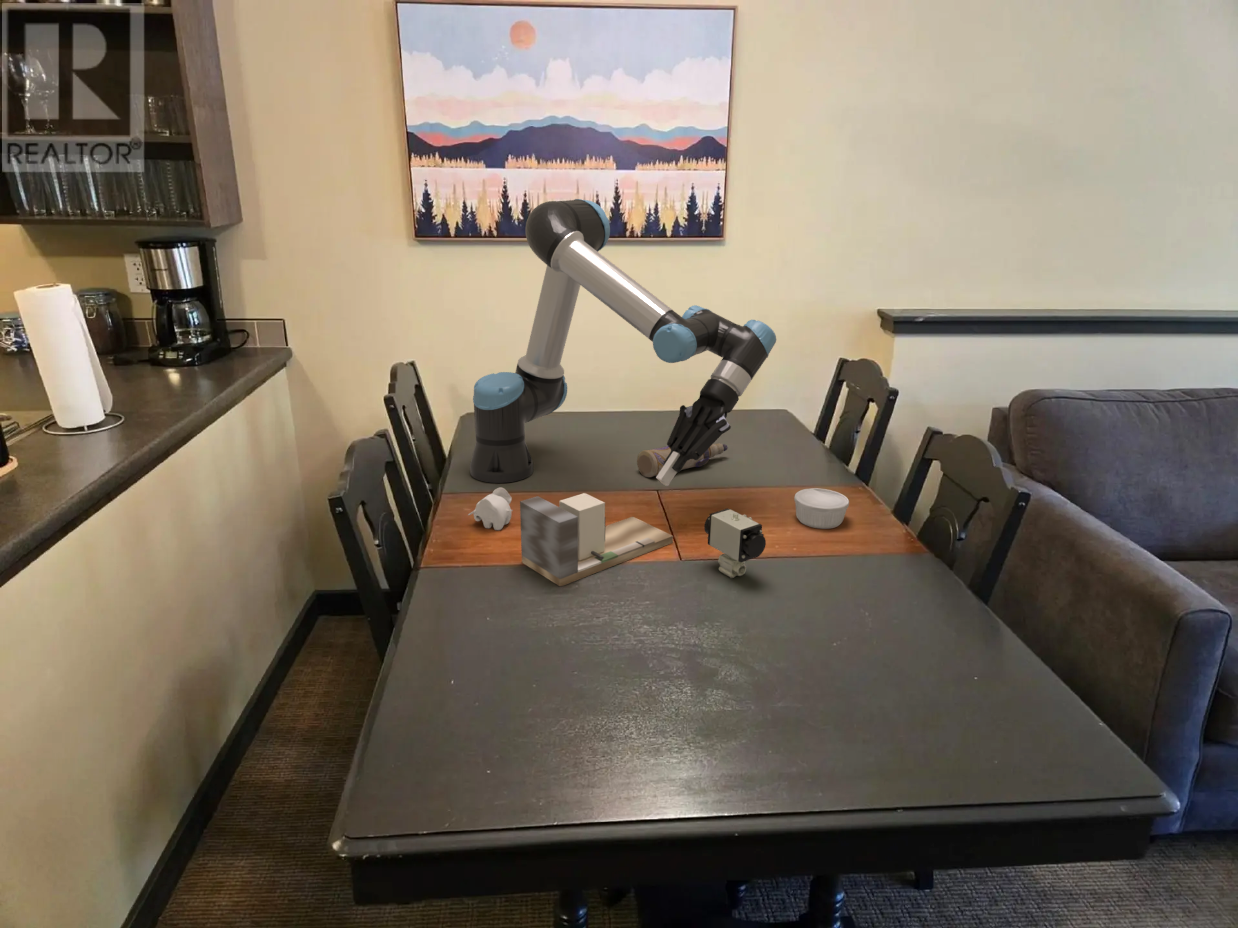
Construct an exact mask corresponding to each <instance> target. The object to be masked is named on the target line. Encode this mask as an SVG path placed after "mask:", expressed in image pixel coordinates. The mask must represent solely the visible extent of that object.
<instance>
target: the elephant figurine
mask: <svg viewBox="0 0 1238 928" xmlns="http://www.w3.org/2000/svg"><path fill="white" fill-rule="evenodd" d="M512 498H513V497H512V496H511V495H510V493H509V492H508V491H507V490H506V488H504V487H502V486H501V487H497V488H495V489H494V490H493V491H492V493H490V494H489V493H488V494H487V495H486V496H485V497H483V498H482V499H481V500H479V501H478V502H477V503H476V505H475V508H474V510H473V511H471V512H469V513H468V514H467V516H471V515H473V518H474V520H475V521H476V522H480V521H482V523H483V527H484V528H485V529H491V528H493V529H494V530H495V531H501V530H503V527H504V526H505V525H507V524H509V523H510V521H511V519H512V512H513V509H511V508H512V507H511V506H510V504H511V503H512Z"/></svg>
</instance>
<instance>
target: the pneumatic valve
mask: <svg viewBox="0 0 1238 928" xmlns="http://www.w3.org/2000/svg"><path fill="white" fill-rule="evenodd" d="M703 526H704V527H703V528H704V531H705V533H706V534H707V536H706V537H707V545H708V546H711V547H712V548H713V549H715V550H718V551H719V552H721V553H722V554H720V555H719V557H718V559H717V561H718V564H719V567H718V571H719V572H721V573H722V574H723V575H725V576H727V577H729V578H730V579H733V578H735V577H737V576H738V577H741V576H743V575H744V574H745V573H746V572H747V566H746V564H745V562H747V561H749V560H752V559H756V558H758V557H760V556H761V555H762V554H763V552H764V550H765V548H766V545H767V539H766V537H765V535H764V533H763V525H762V524H761V523H758V522H756V521H755V520H753V518H752V517H751V516H747V514H741V513H739V512H737V511H735V510H733V509H730V508H725V509H721V510H719V511H715V512H711V513H709V515H708V516H707V518H706V520H705V522H704V525H703Z"/></svg>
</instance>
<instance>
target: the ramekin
mask: <svg viewBox="0 0 1238 928" xmlns="http://www.w3.org/2000/svg"><path fill="white" fill-rule="evenodd" d="M794 503H795V516H796V518H797V519H798V521H799V522H800V523H801V524H802V525H805V526H807V527H810V528H815V529H822V530H824V529H825V530H826V529H835V528H837V527H839V526H840V525H841V524H842V523H843V521H844V518H845V516H846V513H847V509H848V508H849V505H850V500H849V499H848V497H847V496H846V495H844V494H842V493H840V492H838V491H835V490H831V489H826V488H817V487H814V488H813V487H812V488H811V487H810V488H804V489H801V490H799V491H797V492H796V493H795V494H794Z"/></svg>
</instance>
